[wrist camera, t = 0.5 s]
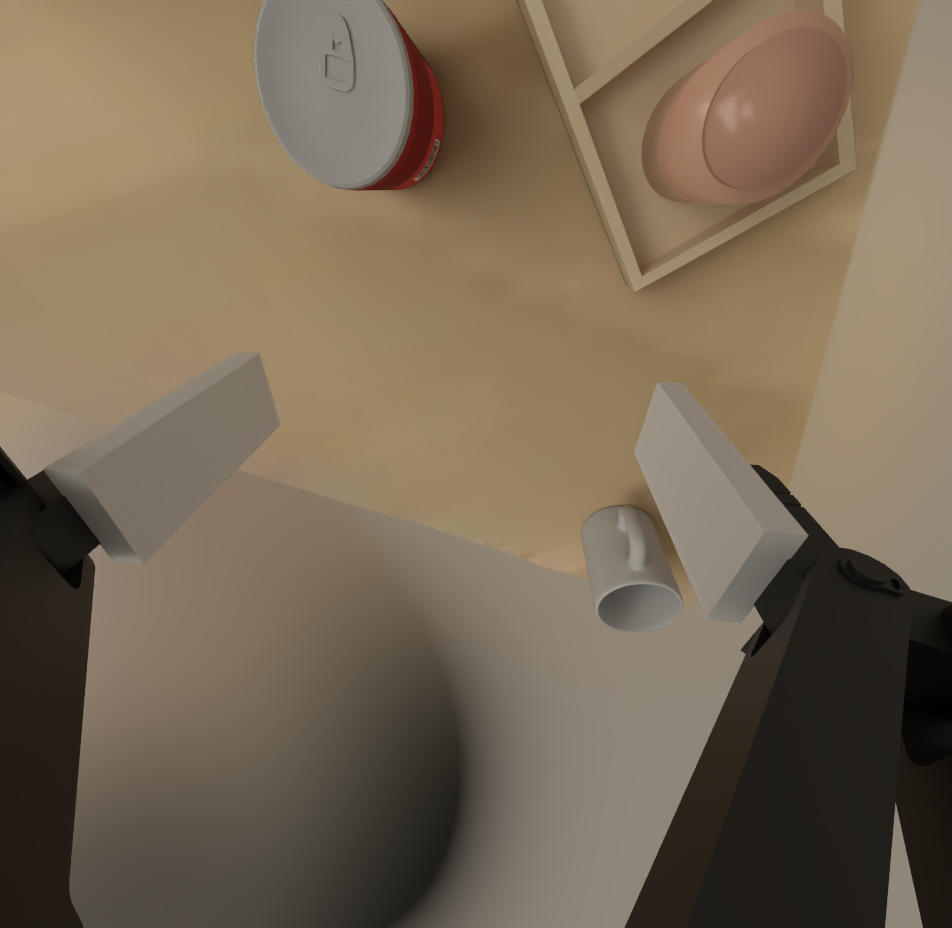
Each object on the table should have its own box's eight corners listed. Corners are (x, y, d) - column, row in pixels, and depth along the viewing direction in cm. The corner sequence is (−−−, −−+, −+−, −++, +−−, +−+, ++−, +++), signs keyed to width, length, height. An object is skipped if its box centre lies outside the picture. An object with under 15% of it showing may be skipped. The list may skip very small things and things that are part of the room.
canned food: (441, 35, 25) (397, -53, 16) (450, 188, 29) (420, 187, 20) (327, 44, 26) (222, -35, 17) (353, 192, 30) (282, 193, 21)
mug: (649, 553, 49) (678, 633, 40) (580, 556, 51) (593, 634, 42) (659, 478, 43) (697, 554, 34) (580, 483, 44) (595, 558, 35)
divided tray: (459, -147, 21) (451, -193, 18) (746, -484, 16) (788, -609, 13) (626, 284, 32) (634, 292, 30) (826, 170, 27) (856, 168, 24)
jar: (626, 117, 26) (673, 84, 18) (742, 33, 23) (858, -50, 15) (660, 222, 29) (713, 235, 21) (765, 158, 26) (871, 144, 18)
